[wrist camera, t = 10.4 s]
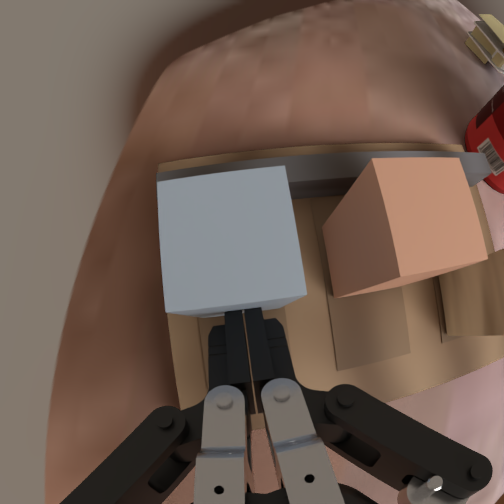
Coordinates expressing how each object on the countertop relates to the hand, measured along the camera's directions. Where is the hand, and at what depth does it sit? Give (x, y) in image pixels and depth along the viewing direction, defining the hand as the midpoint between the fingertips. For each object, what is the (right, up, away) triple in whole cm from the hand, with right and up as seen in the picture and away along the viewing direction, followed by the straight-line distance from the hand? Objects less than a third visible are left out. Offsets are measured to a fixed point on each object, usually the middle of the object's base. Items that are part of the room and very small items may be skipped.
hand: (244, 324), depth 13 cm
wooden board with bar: (+7, +2, +6) cm, 9 cm away
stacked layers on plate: (+29, +26, +13) cm, 41 cm away
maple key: (+14, 0, +4) cm, 14 cm away
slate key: (0, +2, +4) cm, 4 cm away
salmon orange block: (+6, +3, +4) cm, 8 cm away
